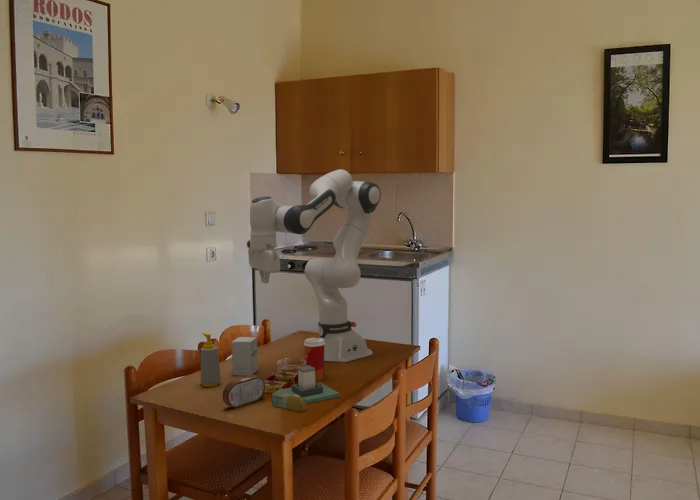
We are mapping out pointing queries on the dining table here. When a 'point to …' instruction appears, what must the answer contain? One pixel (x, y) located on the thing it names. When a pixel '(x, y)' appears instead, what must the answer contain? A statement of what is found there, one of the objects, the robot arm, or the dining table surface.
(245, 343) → the supplement box
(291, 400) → the medication box
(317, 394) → the board
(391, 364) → the dining table surface
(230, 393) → the tin
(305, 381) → the plug
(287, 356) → the dining table surface
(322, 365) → the paper cup
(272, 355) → the dining table surface
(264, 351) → the dining table surface
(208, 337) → the soap bottle
